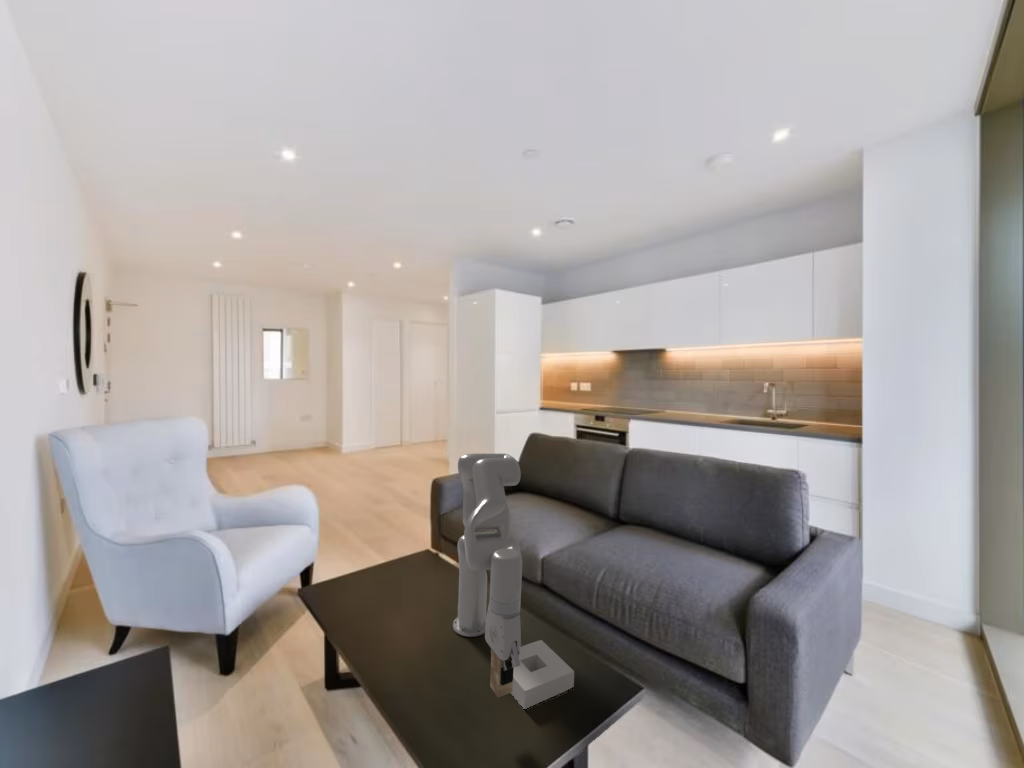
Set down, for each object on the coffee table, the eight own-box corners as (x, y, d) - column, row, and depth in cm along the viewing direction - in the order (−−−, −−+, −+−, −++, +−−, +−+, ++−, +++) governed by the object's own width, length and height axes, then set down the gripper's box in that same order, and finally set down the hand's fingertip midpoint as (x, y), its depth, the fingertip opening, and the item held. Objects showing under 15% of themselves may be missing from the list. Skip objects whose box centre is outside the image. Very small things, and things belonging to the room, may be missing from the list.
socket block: (494, 672, 124) (495, 655, 124) (540, 655, 132) (541, 639, 132) (524, 710, 110) (524, 691, 110) (573, 689, 118) (574, 671, 118)
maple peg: (489, 686, 106) (491, 646, 105) (504, 680, 108) (505, 641, 107) (497, 697, 102) (499, 656, 102) (512, 691, 104) (514, 651, 104)
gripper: (475, 590, 109) (473, 660, 110) (508, 625, 95) (505, 706, 96) (501, 583, 113) (498, 651, 114) (537, 616, 99) (533, 694, 99)
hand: (501, 675), depth 105 cm, fingers closed on maple peg, 4 cm apart
